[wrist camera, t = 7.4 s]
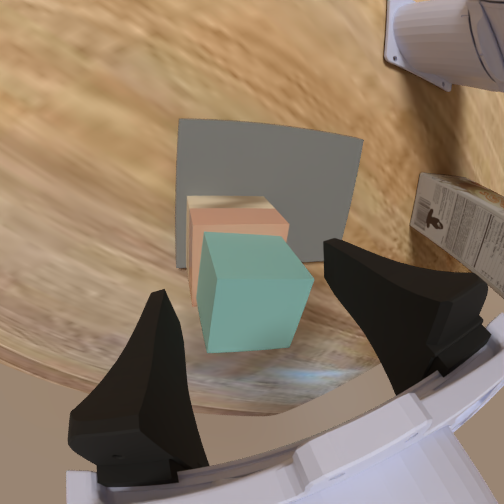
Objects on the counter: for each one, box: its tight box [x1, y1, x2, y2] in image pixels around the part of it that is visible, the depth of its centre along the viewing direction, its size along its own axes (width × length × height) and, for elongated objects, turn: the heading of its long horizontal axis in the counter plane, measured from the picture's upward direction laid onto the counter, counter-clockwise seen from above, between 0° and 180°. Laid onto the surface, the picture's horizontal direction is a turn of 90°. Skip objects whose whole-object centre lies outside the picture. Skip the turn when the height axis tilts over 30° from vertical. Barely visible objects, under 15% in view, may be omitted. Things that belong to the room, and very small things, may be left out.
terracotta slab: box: [189, 208, 289, 307], centre depth 18 cm, size 6×6×2 cm
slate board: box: [175, 119, 364, 268], centre depth 22 cm, size 14×11×1 cm
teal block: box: [196, 232, 314, 353], centre depth 15 cm, size 4×4×4 cm
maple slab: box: [186, 196, 275, 281], centre depth 20 cm, size 6×6×2 cm
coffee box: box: [410, 173, 504, 299], centre depth 21 cm, size 9×6×16 cm
